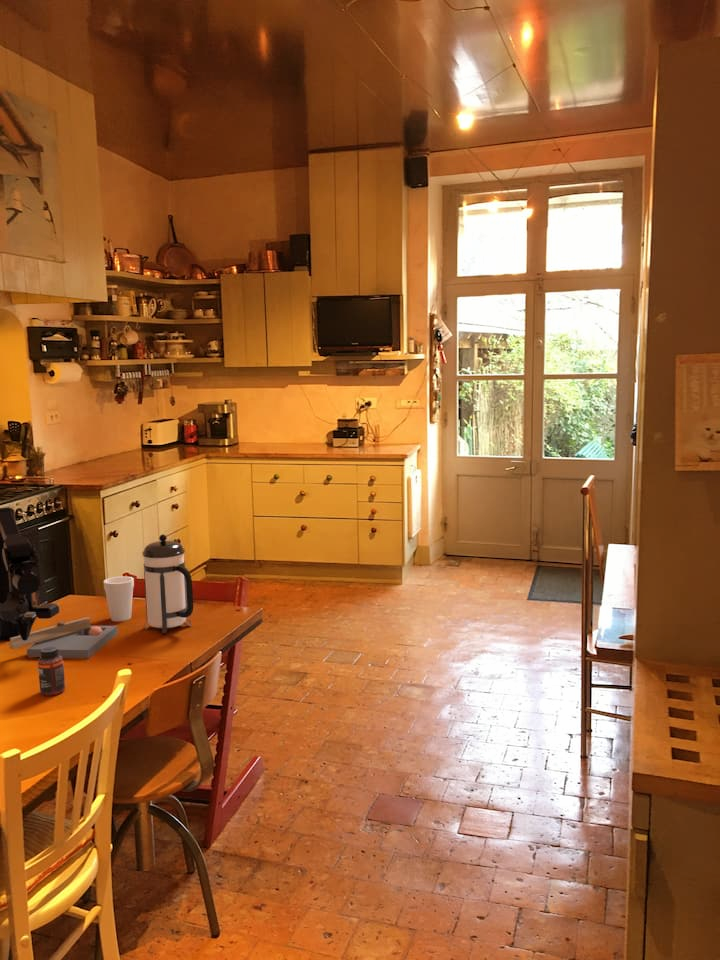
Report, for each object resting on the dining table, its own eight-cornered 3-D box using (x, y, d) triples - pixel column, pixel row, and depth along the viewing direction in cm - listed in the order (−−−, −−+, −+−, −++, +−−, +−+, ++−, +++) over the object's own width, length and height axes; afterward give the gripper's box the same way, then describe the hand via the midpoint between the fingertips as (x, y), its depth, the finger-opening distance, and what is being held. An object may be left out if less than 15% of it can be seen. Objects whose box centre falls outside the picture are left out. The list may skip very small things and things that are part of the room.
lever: (10, 648, 218) (9, 635, 217) (87, 626, 236) (86, 614, 235) (13, 649, 217) (12, 637, 216) (90, 627, 235) (90, 616, 234)
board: (27, 657, 218) (26, 649, 218) (61, 633, 239) (61, 625, 239) (88, 658, 217) (87, 650, 217) (117, 633, 238) (117, 625, 237)
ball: (84, 637, 232) (95, 644, 232) (88, 629, 230) (99, 637, 230) (91, 628, 235) (102, 636, 235) (96, 621, 233) (106, 629, 233)
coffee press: (137, 637, 234) (131, 540, 230) (149, 620, 250) (144, 530, 246) (194, 635, 235) (189, 539, 231) (203, 619, 250) (198, 528, 246)
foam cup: (126, 623, 247) (124, 584, 246) (100, 622, 249) (98, 583, 247) (140, 614, 257) (138, 576, 255) (115, 613, 258) (113, 575, 257)
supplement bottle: (68, 686, 197) (65, 644, 196) (60, 696, 191) (57, 652, 190) (45, 687, 197) (42, 645, 195) (36, 697, 191) (32, 653, 190)
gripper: (-28, 594, 208) (-23, 649, 210) (38, 594, 206) (42, 650, 208) (-5, 583, 219) (-1, 636, 221) (58, 583, 217) (62, 636, 219)
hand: (25, 640), depth 217 cm, fingers closed
